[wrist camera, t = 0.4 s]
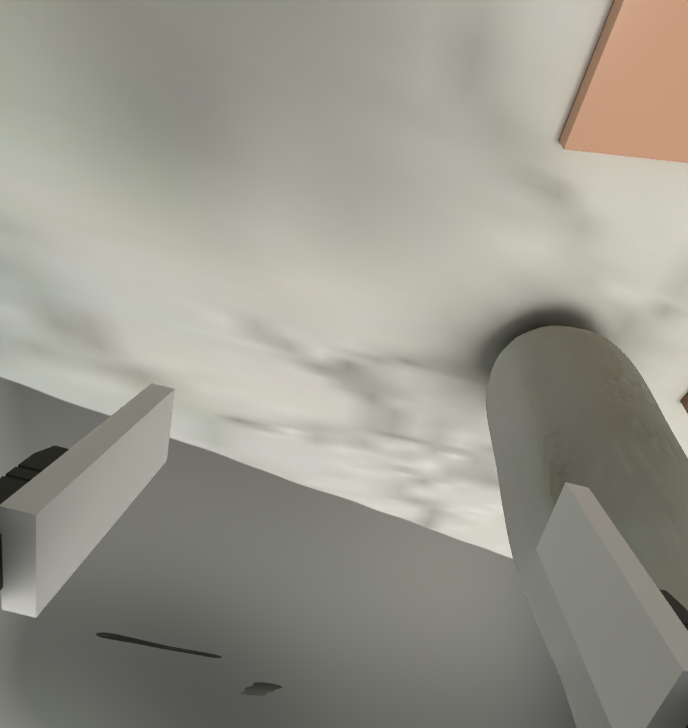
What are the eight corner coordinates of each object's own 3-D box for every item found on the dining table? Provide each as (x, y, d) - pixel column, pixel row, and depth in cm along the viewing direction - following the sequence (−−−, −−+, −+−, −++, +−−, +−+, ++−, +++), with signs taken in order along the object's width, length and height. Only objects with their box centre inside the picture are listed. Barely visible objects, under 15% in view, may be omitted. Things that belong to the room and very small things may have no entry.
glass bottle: (646, 337, 35) (983, 917, 16) (537, 409, 42) (679, 887, 22) (552, 273, 32) (832, 915, 12) (449, 363, 38) (523, 880, 19)
